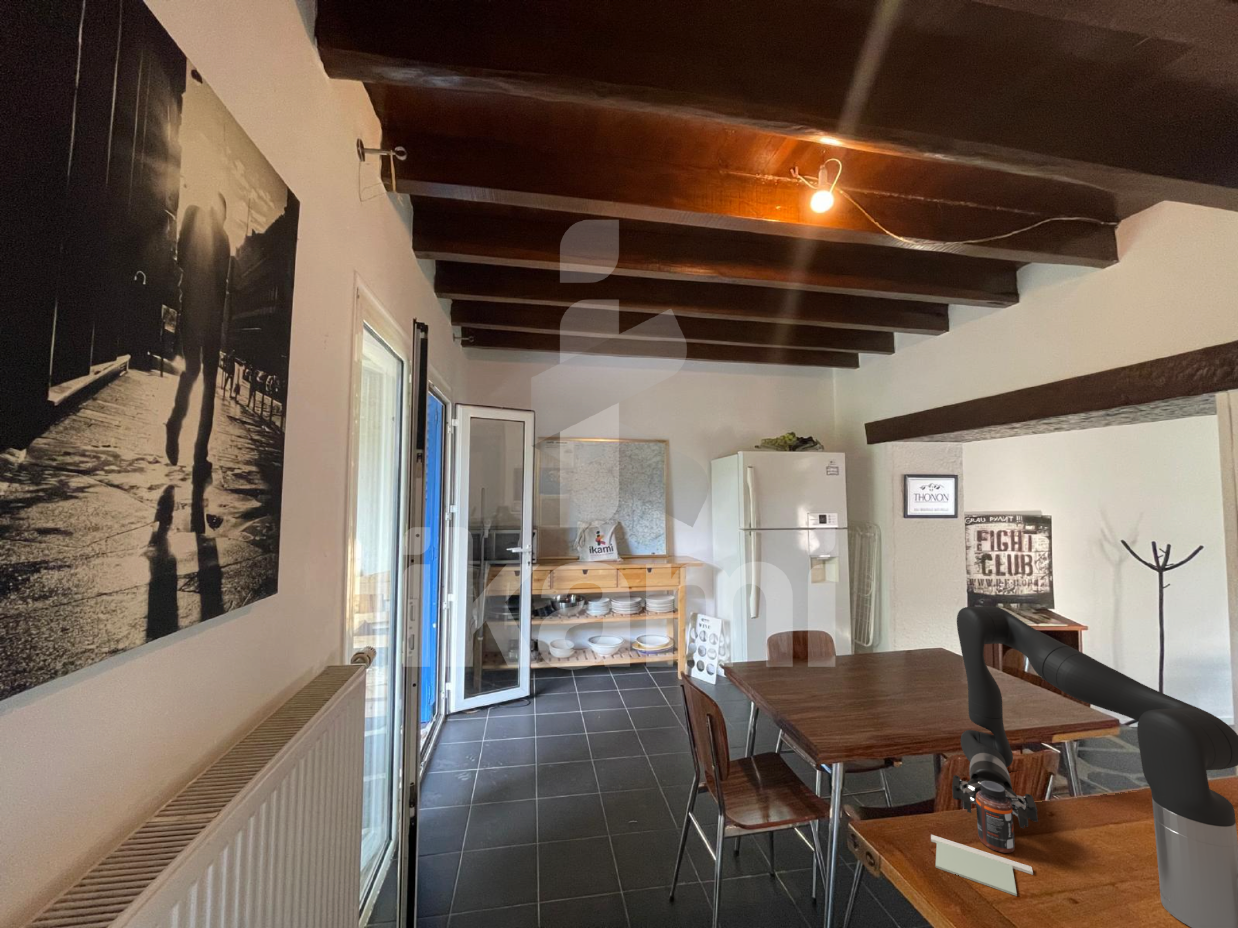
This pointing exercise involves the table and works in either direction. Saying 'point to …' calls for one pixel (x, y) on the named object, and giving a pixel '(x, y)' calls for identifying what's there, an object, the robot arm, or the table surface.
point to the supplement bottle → (995, 817)
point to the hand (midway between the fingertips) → (995, 815)
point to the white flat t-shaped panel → (977, 865)
